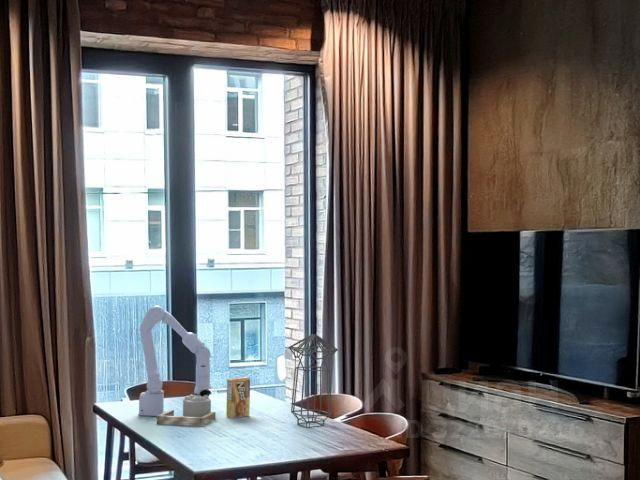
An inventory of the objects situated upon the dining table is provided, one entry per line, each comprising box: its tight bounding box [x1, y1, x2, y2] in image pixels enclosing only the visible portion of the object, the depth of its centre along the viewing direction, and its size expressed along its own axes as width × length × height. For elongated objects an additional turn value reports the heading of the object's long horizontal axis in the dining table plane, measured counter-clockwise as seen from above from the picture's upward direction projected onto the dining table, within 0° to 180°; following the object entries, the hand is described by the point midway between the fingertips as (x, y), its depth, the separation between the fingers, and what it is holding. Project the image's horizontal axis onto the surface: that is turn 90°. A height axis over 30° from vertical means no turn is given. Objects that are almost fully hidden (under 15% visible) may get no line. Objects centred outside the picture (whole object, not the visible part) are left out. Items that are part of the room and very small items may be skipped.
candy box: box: [225, 376, 251, 419], centre depth 353 cm, size 9×4×15 cm, turn 129°
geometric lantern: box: [287, 333, 340, 429], centre depth 337 cm, size 16×16×35 cm
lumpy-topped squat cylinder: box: [182, 394, 212, 417], centre depth 351 cm, size 10×13×9 cm
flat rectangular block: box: [156, 409, 216, 427], centre depth 341 cm, size 19×14×3 cm
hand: (202, 408), depth 358 cm, fingers closed
